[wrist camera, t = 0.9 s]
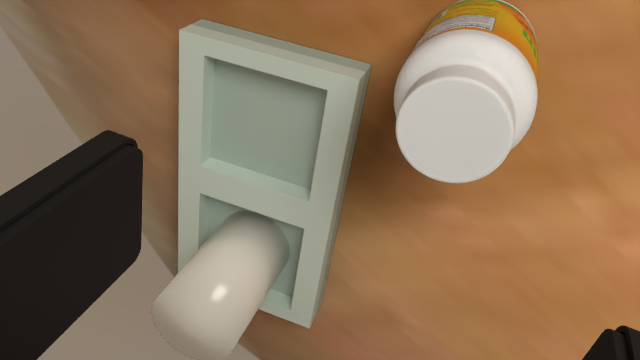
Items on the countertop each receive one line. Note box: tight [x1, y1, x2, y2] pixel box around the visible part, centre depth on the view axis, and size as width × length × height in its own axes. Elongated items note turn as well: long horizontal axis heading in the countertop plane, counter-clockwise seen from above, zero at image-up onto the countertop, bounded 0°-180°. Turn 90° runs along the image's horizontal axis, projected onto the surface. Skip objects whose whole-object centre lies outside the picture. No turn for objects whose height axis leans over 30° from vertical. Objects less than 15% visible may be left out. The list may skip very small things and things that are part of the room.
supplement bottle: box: [394, 0, 538, 183], centre depth 22 cm, size 5×5×10 cm
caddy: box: [178, 19, 372, 329], centre depth 33 cm, size 18×10×2 cm, turn 171°
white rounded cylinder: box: [151, 211, 290, 360], centre depth 33 cm, size 5×5×8 cm
